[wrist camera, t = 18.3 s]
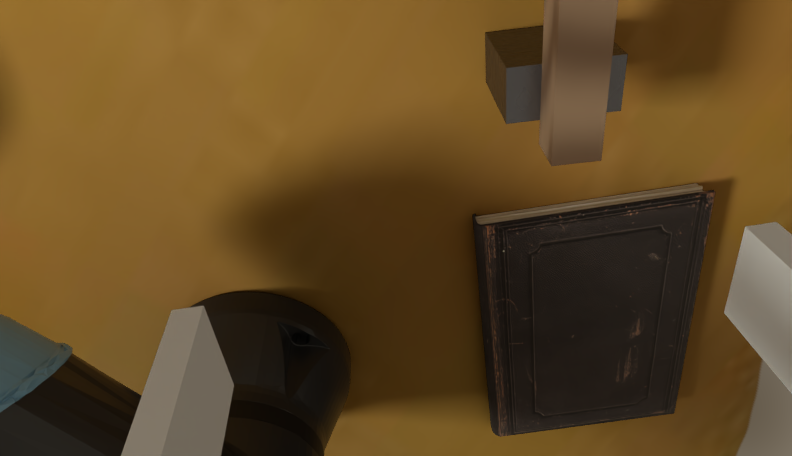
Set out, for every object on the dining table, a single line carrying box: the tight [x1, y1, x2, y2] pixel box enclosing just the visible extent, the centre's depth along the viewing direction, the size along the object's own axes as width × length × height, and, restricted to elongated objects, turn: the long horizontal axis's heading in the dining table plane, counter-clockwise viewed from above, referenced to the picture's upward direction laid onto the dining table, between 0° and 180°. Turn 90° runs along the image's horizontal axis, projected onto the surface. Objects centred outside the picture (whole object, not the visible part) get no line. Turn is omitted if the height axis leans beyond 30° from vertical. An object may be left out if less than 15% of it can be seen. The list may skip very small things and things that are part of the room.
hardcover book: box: [473, 183, 715, 436], centre depth 47 cm, size 16×23×2 cm
